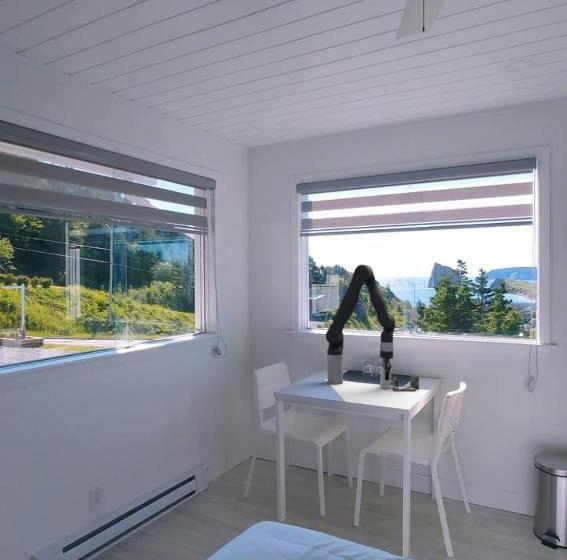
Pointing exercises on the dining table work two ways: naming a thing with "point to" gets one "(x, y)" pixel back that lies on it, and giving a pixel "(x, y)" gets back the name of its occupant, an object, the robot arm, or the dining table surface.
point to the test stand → (413, 383)
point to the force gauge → (384, 382)
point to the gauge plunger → (395, 382)
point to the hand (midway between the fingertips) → (386, 378)
